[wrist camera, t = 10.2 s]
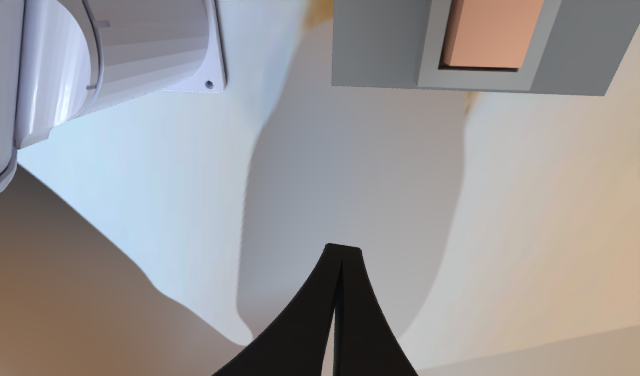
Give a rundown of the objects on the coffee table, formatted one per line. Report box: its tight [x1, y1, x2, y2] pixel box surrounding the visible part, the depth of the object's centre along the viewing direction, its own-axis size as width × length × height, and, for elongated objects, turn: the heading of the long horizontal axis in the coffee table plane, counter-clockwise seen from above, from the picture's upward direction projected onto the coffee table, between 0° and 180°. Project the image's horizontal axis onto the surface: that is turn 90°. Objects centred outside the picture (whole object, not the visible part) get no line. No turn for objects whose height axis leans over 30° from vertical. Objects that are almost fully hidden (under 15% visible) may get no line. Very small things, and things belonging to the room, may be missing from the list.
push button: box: [440, 0, 544, 68], centre depth 13 cm, size 3×3×2 cm
